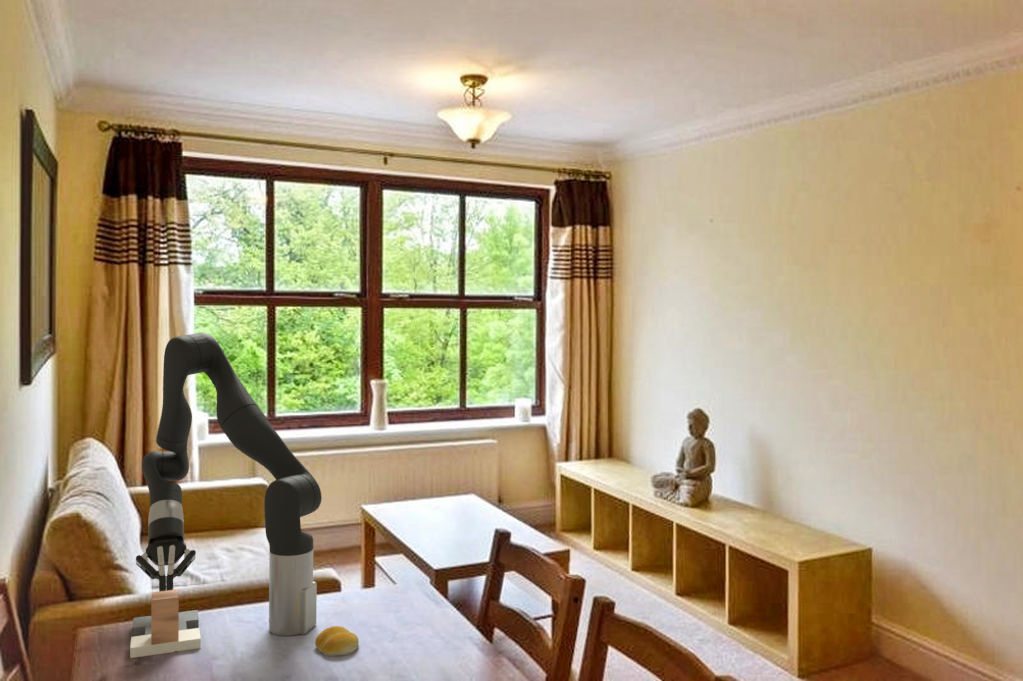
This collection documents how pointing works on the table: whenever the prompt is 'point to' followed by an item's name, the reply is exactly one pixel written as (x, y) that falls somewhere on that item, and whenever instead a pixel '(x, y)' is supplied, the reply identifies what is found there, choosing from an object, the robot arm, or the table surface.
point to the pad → (165, 644)
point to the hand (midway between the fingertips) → (166, 593)
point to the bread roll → (336, 641)
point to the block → (164, 617)
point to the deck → (185, 622)
